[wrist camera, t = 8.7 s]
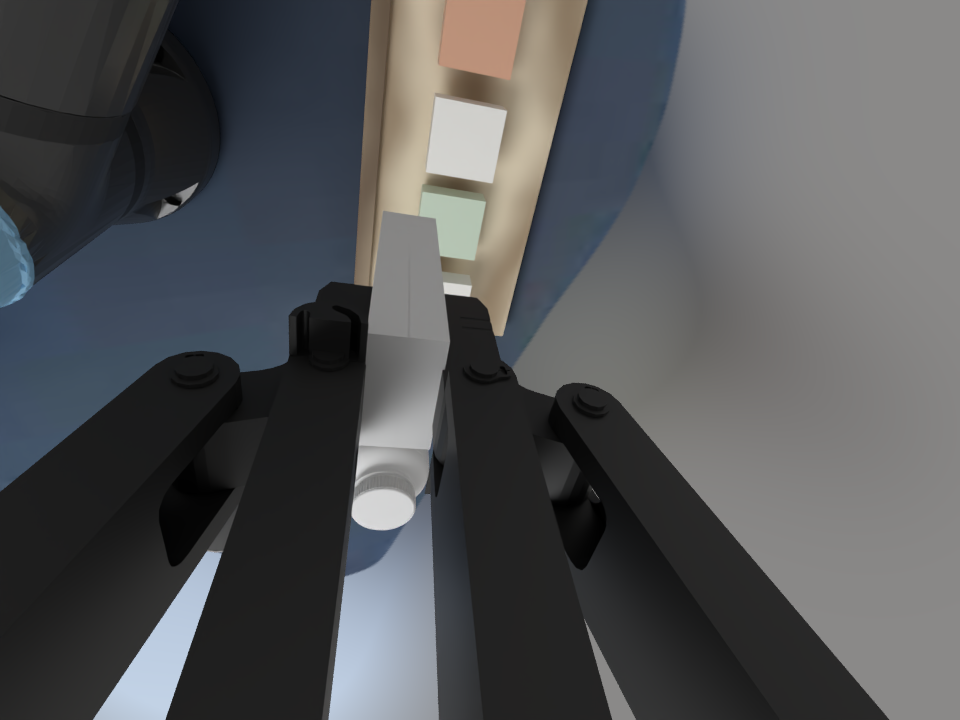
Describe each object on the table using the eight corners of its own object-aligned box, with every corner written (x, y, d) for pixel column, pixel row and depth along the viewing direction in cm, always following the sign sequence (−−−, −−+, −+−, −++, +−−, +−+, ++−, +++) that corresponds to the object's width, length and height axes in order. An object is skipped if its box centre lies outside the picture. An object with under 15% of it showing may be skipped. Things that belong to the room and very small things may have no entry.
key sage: (414, 242, 42) (414, 252, 40) (422, 183, 39) (422, 191, 37) (472, 250, 43) (474, 260, 41) (482, 193, 40) (485, 201, 38)
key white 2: (425, 164, 37) (425, 172, 35) (434, 92, 34) (435, 96, 33) (489, 175, 38) (492, 183, 36) (502, 106, 35) (507, 110, 34)
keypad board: (354, 309, 47) (351, 323, 45) (378, -77, 32) (376, -82, 30) (499, 325, 50) (503, 339, 48) (585, -23, 35) (596, -24, 33)
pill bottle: (437, 408, 55) (445, 522, 43) (371, 433, 56) (360, 551, 44) (406, 354, 51) (404, 464, 39) (334, 382, 52) (311, 498, 40)
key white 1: (405, 318, 44) (405, 330, 43) (412, 267, 42) (412, 278, 40) (459, 324, 45) (461, 336, 44) (469, 275, 43) (471, 285, 41)
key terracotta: (437, 62, 34) (438, 65, 33) (448, -25, 32) (450, -27, 30) (505, 77, 35) (510, 80, 34) (521, -7, 33) (527, -7, 31)
